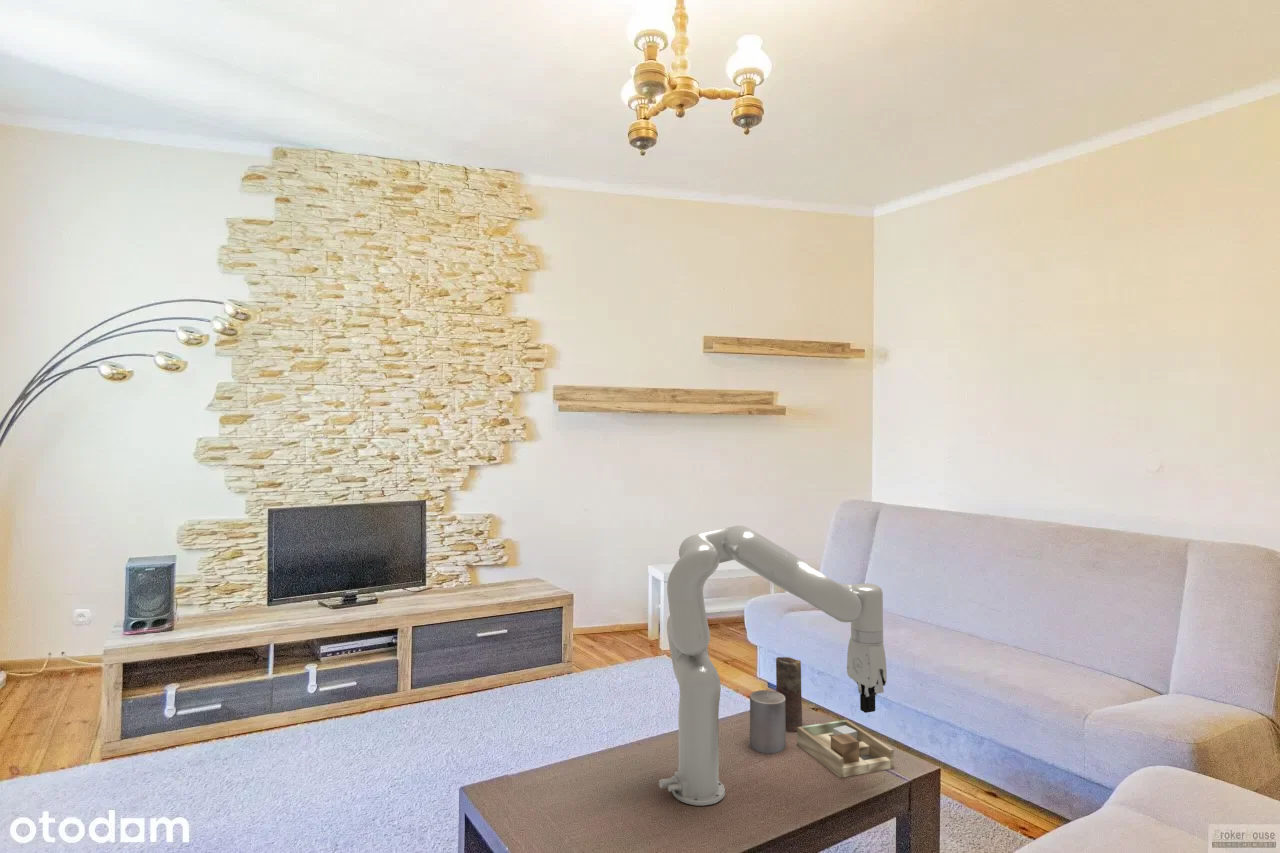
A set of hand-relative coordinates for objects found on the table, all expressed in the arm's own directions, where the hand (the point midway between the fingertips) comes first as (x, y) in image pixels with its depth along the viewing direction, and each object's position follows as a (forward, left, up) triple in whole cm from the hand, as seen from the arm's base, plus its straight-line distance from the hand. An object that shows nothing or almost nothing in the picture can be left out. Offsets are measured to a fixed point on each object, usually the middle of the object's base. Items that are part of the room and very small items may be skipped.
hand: (867, 710), depth 173 cm
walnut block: (0, +9, -16) cm, 18 cm away
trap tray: (+3, +15, -18) cm, 23 cm away
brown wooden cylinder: (-1, +36, -18) cm, 40 cm away
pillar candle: (-13, +27, -18) cm, 35 cm away
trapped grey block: (+7, +19, -18) cm, 27 cm away
